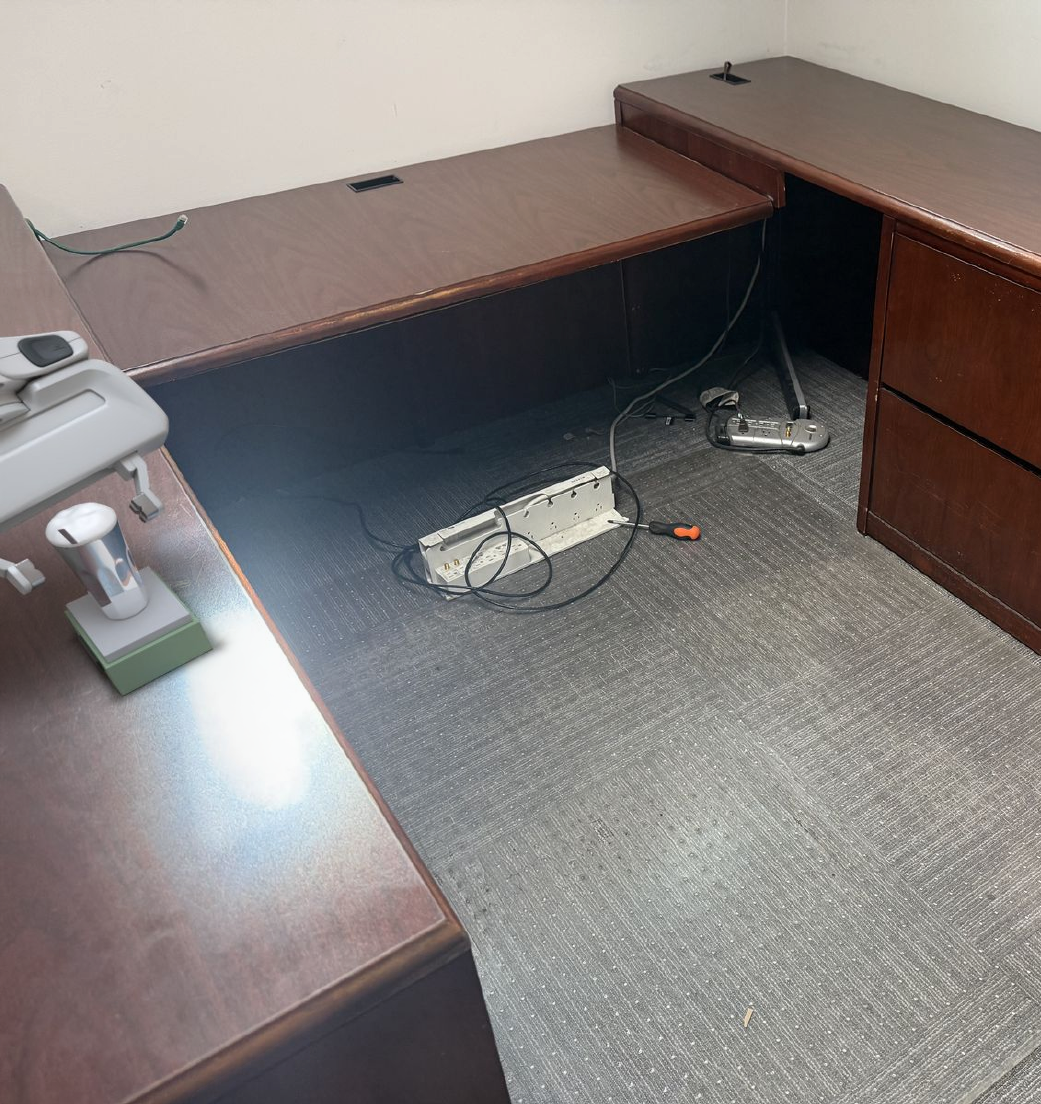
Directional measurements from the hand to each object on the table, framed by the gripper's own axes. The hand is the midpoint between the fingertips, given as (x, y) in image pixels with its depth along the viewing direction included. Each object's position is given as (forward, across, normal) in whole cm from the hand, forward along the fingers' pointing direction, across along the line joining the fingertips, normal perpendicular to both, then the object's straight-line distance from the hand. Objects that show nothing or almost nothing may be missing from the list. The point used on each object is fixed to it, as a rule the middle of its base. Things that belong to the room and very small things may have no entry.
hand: (97, 550), depth 74 cm
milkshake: (+4, 0, +5) cm, 6 cm away
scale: (+7, 0, +8) cm, 10 cm away
